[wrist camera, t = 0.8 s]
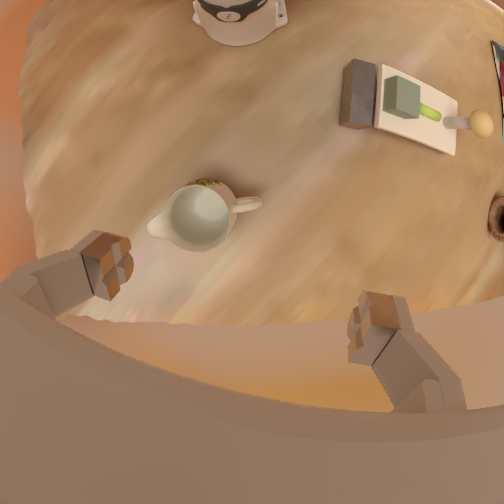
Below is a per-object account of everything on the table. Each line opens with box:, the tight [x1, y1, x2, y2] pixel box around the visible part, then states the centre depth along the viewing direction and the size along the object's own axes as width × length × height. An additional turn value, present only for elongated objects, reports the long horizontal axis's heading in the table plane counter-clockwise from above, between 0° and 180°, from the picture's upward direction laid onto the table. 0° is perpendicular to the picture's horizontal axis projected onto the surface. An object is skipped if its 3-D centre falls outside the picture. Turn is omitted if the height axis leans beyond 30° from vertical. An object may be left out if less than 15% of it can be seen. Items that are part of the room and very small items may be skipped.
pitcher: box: [146, 179, 264, 253], centre depth 46 cm, size 11×18×14 cm, turn 100°
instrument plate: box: [374, 64, 494, 156], centre depth 32 cm, size 20×12×14 cm, turn 84°
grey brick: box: [339, 59, 375, 130], centre depth 40 cm, size 12×25×7 cm, turn 84°
